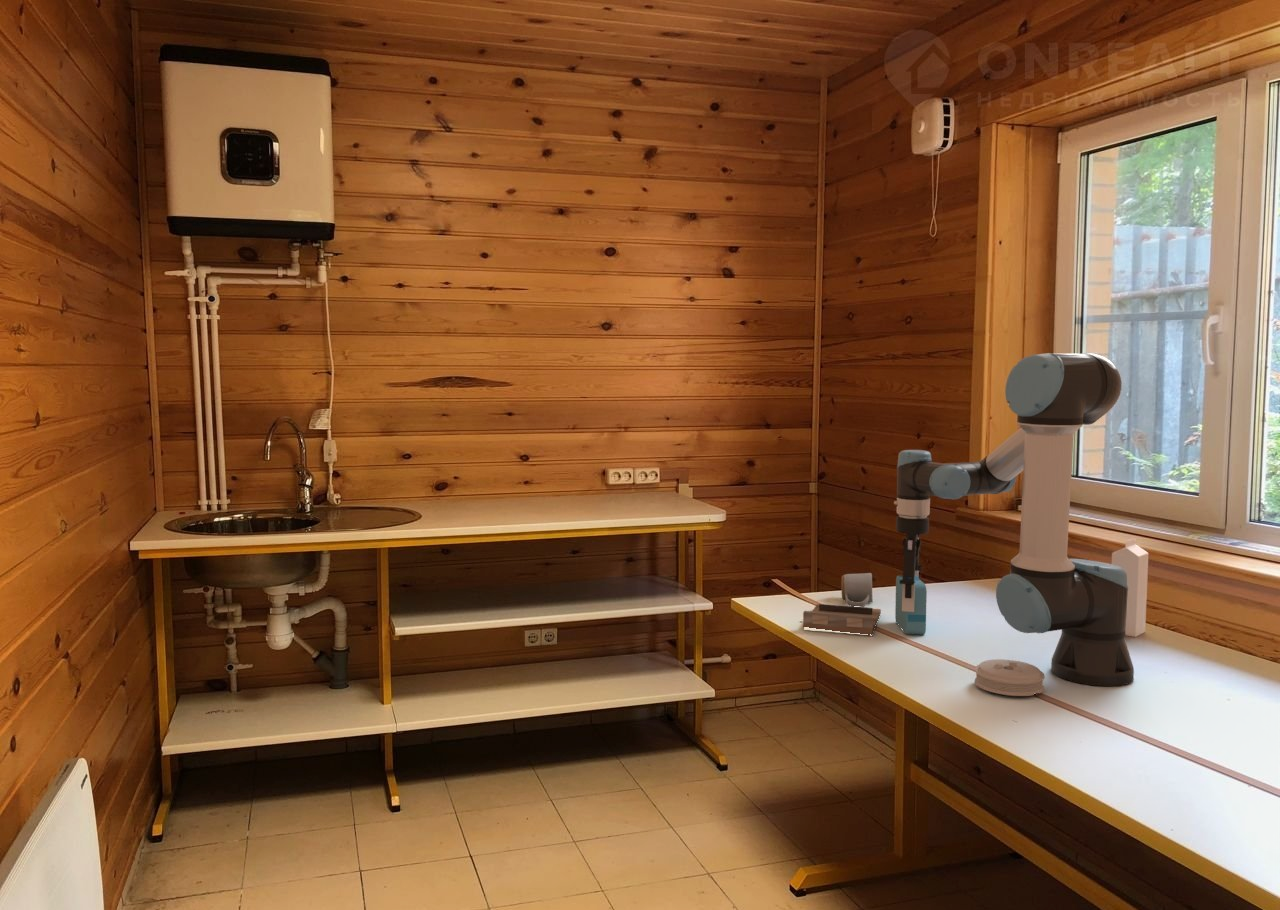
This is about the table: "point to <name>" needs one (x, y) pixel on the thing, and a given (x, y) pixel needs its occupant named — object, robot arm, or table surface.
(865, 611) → the brown tray
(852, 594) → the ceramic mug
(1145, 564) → the milk
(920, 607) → the teal rounded flat block
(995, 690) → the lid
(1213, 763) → the table surface
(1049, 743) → the table surface
